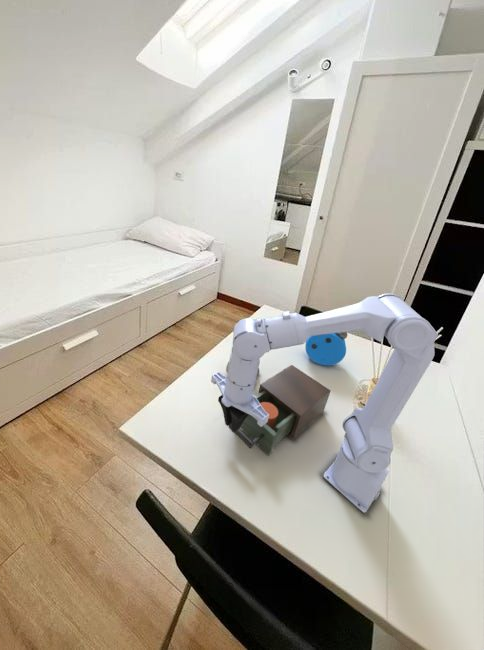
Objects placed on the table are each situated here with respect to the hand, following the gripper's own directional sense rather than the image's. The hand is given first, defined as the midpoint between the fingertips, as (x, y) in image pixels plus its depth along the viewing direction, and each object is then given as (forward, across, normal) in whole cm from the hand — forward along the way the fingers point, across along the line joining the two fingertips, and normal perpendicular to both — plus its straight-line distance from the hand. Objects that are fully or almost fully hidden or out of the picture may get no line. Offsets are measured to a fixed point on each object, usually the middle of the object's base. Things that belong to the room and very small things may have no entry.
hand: (232, 426), depth 63 cm
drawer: (+9, 0, +12) cm, 16 cm away
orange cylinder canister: (+8, 0, +13) cm, 15 cm away
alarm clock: (+11, -7, +54) cm, 55 cm away
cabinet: (+10, 0, +24) cm, 27 cm away
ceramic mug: (+11, -17, +24) cm, 31 cm away
